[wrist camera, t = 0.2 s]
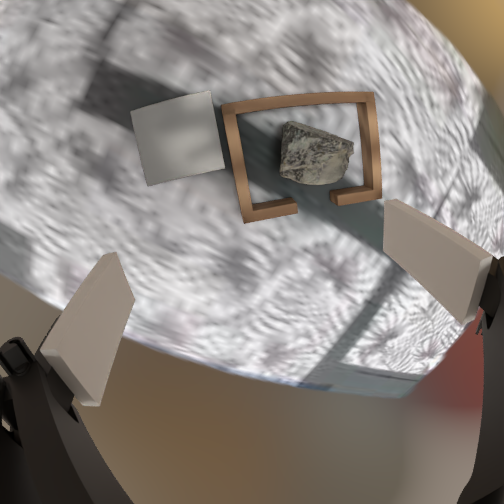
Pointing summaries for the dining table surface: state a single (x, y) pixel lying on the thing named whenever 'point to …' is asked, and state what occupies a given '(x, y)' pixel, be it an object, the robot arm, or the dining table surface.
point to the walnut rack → (362, 99)
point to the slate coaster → (178, 138)
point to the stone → (313, 154)
